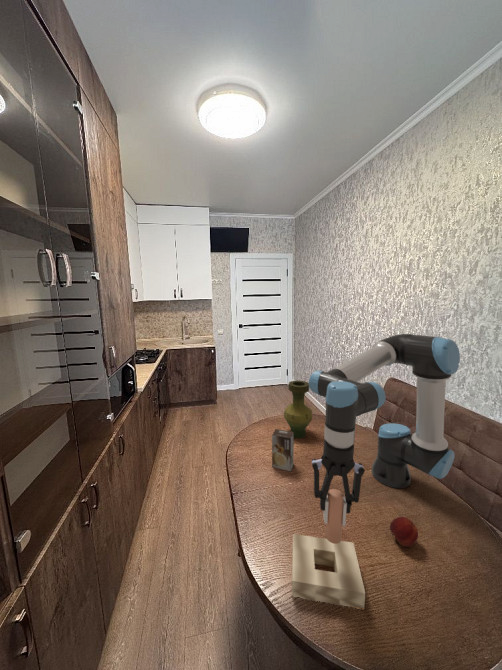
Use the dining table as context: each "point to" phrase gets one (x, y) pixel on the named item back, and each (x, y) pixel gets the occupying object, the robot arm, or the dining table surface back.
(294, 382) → the vase
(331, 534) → the peg
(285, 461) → the coffee box
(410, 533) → the apple
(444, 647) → the dining table surface
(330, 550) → the socket block
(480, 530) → the dining table surface
